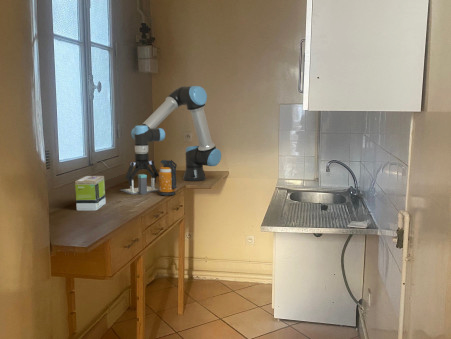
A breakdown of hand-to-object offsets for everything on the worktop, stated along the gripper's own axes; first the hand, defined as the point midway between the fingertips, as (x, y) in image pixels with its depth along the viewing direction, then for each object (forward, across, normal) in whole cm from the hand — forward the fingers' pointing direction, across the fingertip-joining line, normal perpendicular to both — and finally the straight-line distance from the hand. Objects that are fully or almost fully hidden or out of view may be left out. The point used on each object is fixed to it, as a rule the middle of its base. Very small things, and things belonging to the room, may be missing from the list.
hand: (142, 190), depth 251 cm
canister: (+2, +10, -12) cm, 16 cm away
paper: (+2, +4, +10) cm, 11 cm away
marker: (+2, 0, 0) cm, 2 cm away
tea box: (+2, -36, -16) cm, 39 cm away
